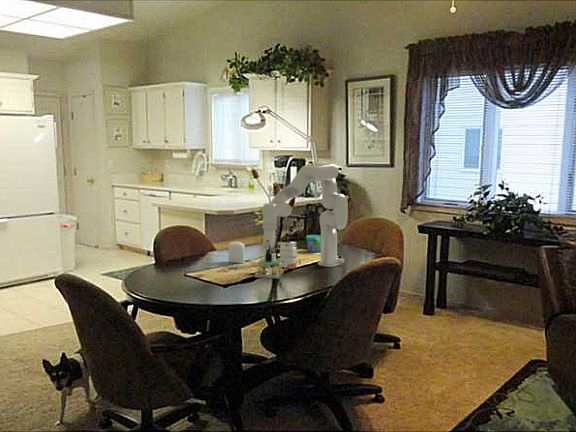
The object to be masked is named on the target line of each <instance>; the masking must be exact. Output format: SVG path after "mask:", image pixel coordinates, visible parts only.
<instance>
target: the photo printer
mask: <svg viewBox="0 0 576 432" xmlns="http://www.w3.org/2000/svg"><path fill="white" fill-rule="evenodd" d="M227 247H228V249H227V250H228V262H229V263H236V264H245V262H246V261H245V260H246V259H245V258H246V255H245V252H246V250H245V248H246V247H245V243H243V242H240V241H231V242H229V243H228V246H227Z"/></svg>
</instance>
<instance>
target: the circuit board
mask: <svg viewBox="0 0 576 432" xmlns="http://www.w3.org/2000/svg"><path fill="white" fill-rule="evenodd" d="M271 254H272V261H266V252H264V253H263V256H262V258H261V259H260V260H259V261H258V264H260V263H261V264H262V265H268V266H274V264H278V263H279V262H280V259H279V258H276V257H277V256H276V255H277V254H276V253H274V252H273V253H271Z"/></svg>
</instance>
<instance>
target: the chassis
mask: <svg viewBox="0 0 576 432" xmlns="http://www.w3.org/2000/svg"><path fill="white" fill-rule="evenodd" d="M268 266H269V265H262V264H261V263H259V265H257V267H256V271H257V272H256V273H255V274H254V278H265V279H268V278H269V279H280V278H281V276H282V275H283V273H285V271H284V268H282V263H281V262H279V263H278V264H273V265H272V266H271V268H269V267H268Z"/></svg>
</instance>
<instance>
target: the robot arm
mask: <svg viewBox="0 0 576 432" xmlns="http://www.w3.org/2000/svg"><path fill="white" fill-rule="evenodd" d="M339 171H340V170H339V167H338V165H336V164H334V163H325V162H318V163H314V165H309V164H306V165H303V166H302V167H301V168H300V169H299V170H298V172H297V173H296V174H295V176H294V178H293V179H292V180H291V182H289V184H288V185H287V186H285V187H284V188H283V189H281V190H280V191H279V192H277V193H276V194H275V195H274V197H273V199H272V200H271V201H270V202H269V203H264V204H263V206H262V230H263V239H262V241H263V242H262V247H263V249H265V253H266V261H272V254H271V253H274V247H275V245H276V231H277V229H278V217H282V218H286V217H289V216H291V214H292V212H293V209H292V206H291V205H290V204H289V203H287V201H289V200H290V199H292V198H295V197H299V196H300V195H302V194H303V193H304V191H305V190H306V188H307V187H308V186H309V184H310V183H311V182H320V184H321V189H322V190H321V202H322V204H321V205H322V206H323V207H324V208H325V209H328V210H325V211H323V212H322V213H321V214H320V216H319V226H320V236H321V247H320V260H319V261H317V264H318V266H320V267H326V268H327V267H329V268H330V267H331V268H332V267H338V266H340V263H345V258H339V257H338V231H337V230H343V229H345V228H346V226H347V224H348V217H349V215H348V212H349V210H348V207H349V205H348V199H347V197H346V195H344V194H342V193H338V187H337V186H338V185H337V181H336V178H337V177H338V176H339ZM332 210H333V211H332Z"/></svg>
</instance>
